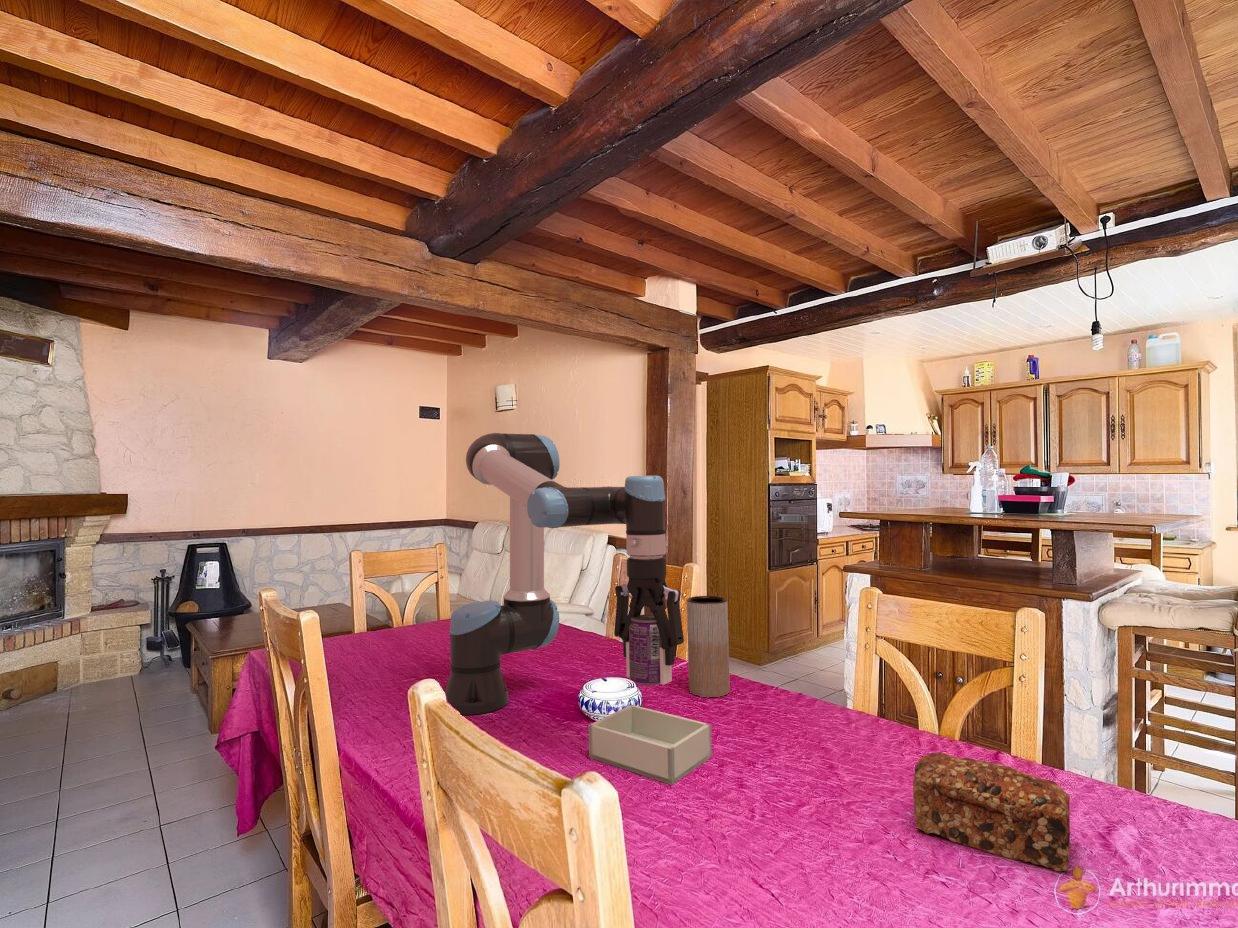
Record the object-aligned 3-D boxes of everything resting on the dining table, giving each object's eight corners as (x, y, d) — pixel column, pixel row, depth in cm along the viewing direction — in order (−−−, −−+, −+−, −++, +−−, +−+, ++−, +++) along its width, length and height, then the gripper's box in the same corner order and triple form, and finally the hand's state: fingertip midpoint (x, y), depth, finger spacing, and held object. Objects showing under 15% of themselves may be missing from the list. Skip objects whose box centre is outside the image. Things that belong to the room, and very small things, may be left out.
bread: (912, 834, 90) (910, 763, 90) (927, 803, 98) (924, 739, 99) (1072, 880, 79) (1068, 800, 79) (1072, 841, 87) (1069, 768, 88)
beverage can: (671, 677, 119) (670, 614, 120) (662, 689, 112) (660, 622, 113) (636, 674, 121) (635, 613, 122) (624, 685, 115) (623, 620, 115)
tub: (589, 757, 117) (588, 725, 117) (632, 734, 127) (631, 704, 128) (672, 784, 105) (671, 749, 106) (711, 756, 116) (711, 724, 116)
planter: (711, 701, 146) (709, 604, 147) (680, 691, 153) (678, 599, 154) (738, 691, 153) (735, 598, 153) (707, 682, 160) (704, 594, 161)
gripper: (593, 555, 121) (595, 674, 120) (680, 561, 109) (683, 693, 108) (617, 552, 127) (619, 665, 126) (702, 557, 115) (705, 682, 114)
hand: (648, 678), depth 117 cm, fingers closed on beverage can, 7 cm apart
